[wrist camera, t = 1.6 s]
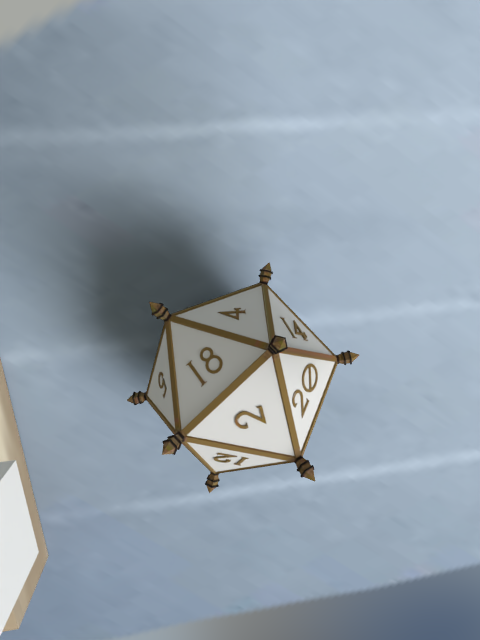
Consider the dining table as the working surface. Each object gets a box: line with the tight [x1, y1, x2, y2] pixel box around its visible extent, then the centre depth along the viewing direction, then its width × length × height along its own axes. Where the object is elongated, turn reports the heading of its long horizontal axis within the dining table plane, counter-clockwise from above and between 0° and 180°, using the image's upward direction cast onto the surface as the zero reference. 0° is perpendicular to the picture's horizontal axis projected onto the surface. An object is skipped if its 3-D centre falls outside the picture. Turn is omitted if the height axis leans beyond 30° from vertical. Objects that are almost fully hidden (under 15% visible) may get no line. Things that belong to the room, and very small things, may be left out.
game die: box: [127, 263, 359, 493], centre depth 16 cm, size 9×8×10 cm
